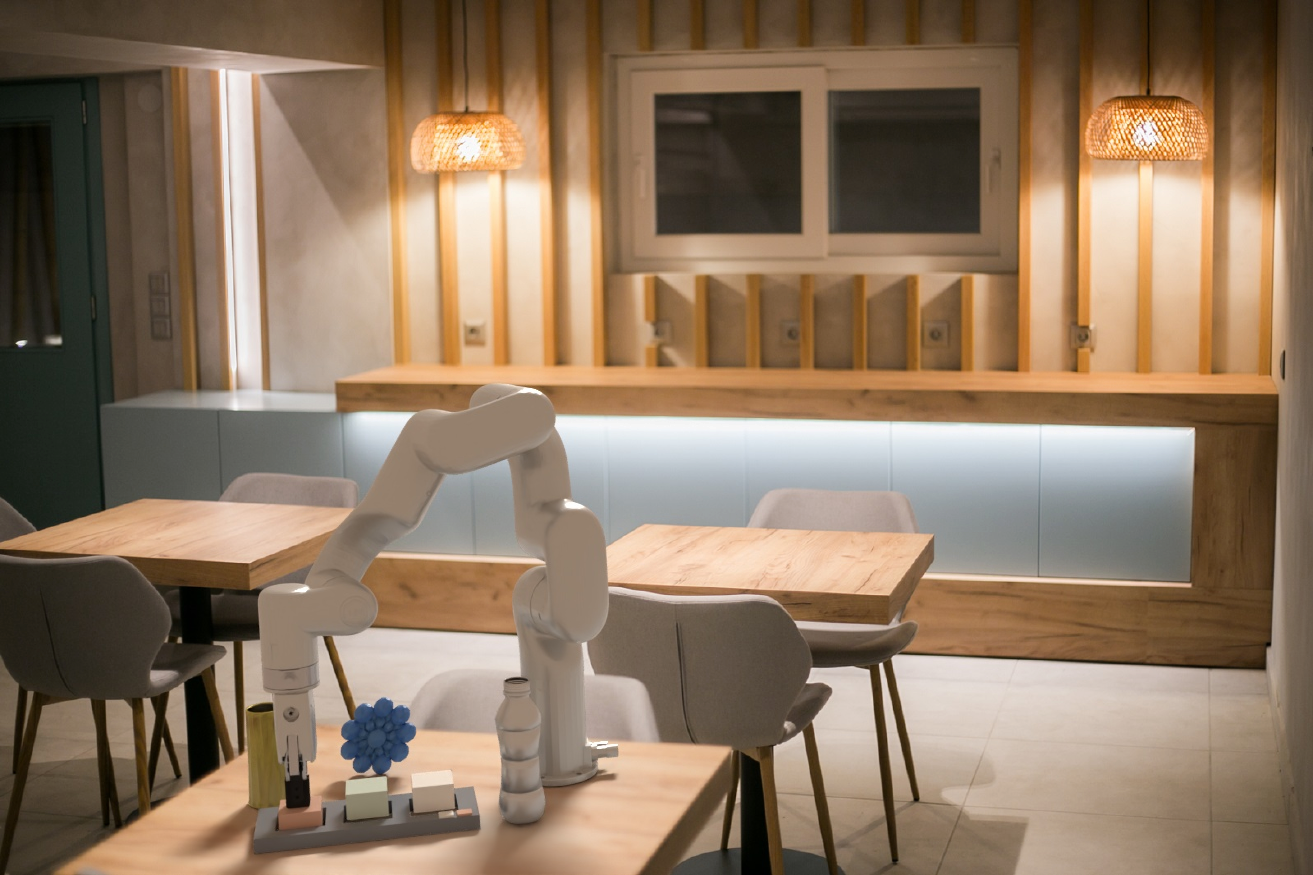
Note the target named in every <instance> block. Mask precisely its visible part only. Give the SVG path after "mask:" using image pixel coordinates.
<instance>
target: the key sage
mask: <svg viewBox="0 0 1313 875" xmlns="http://www.w3.org/2000/svg"><path fill="white" fill-rule="evenodd" d="M388 795H389V794H388V778H387V776H377V777H369V778H368V777H367V778H366V777H365V778H357V779H346V780H345V800H346V810H347V819H346V820H347V821H353V820H354V821H355V820H361V819H371V818H381V817H389V816H390V814H389V810H388Z"/></svg>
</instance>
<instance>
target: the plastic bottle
mask: <svg viewBox="0 0 1313 875" xmlns="http://www.w3.org/2000/svg"><path fill="white" fill-rule="evenodd" d="M530 693H531V689H530V681H529V679H528V678H526V677H521V676H511V677H506V678H505V679H504V680H503V690H502V695H503V696H504V699H503V700H502V701H501V703H500V705H499V706H498V708H497V710H496V712H495V717H494V725H495V729H496V733H497V734H496V735H497V739H498V744H499V754H500V763H501V768H500V772H501V775H500V787H499V788H500V789H499V795H498V807H499V812H500V815H501V817H502V818H503V820H505V821H506V822H508V823H511V824H515V825H516V824H517V825H518V824H519V825H523V824H531V823H533V822H534V823H535V822H537V821H538V820H540V819H541V818H542V816H543V814H544V813H545V809H546V802H547V801H546V795H545V790H544V786H542V782H541V774H540V766H539V738H540V727H541V715H540V712H539V709H538V707H537V706H536V704H535V703H534V702H533V701H532V699H531V698H530V697H529V694H530Z"/></svg>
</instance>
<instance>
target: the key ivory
mask: <svg viewBox="0 0 1313 875" xmlns="http://www.w3.org/2000/svg"><path fill="white" fill-rule="evenodd" d="M410 778H411V793H412V799H413V809H414V812H413V814H418V813H419V814H420V813H428V812H437V811H438V812H440V811H445V810H446V811H449V810H454V809H456V807H455V801H454V788H455V787H454V786H455V785H454V784H455V783H454V777H453V773H452V769H445V770H436V771H427V772H426V771H424V772H416V773H410Z"/></svg>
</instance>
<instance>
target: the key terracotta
mask: <svg viewBox="0 0 1313 875" xmlns="http://www.w3.org/2000/svg"><path fill="white" fill-rule="evenodd" d="M310 798H311V800H310V806H309V807H301V808H290V809H288V808H287V807H286V799H285V800H280V806H279V813H278V819H279V828H278V830H288V829H297V828H306V827H316V826H324V821H323V807H322V802H323V796H322V795H314V796H310Z"/></svg>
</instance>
